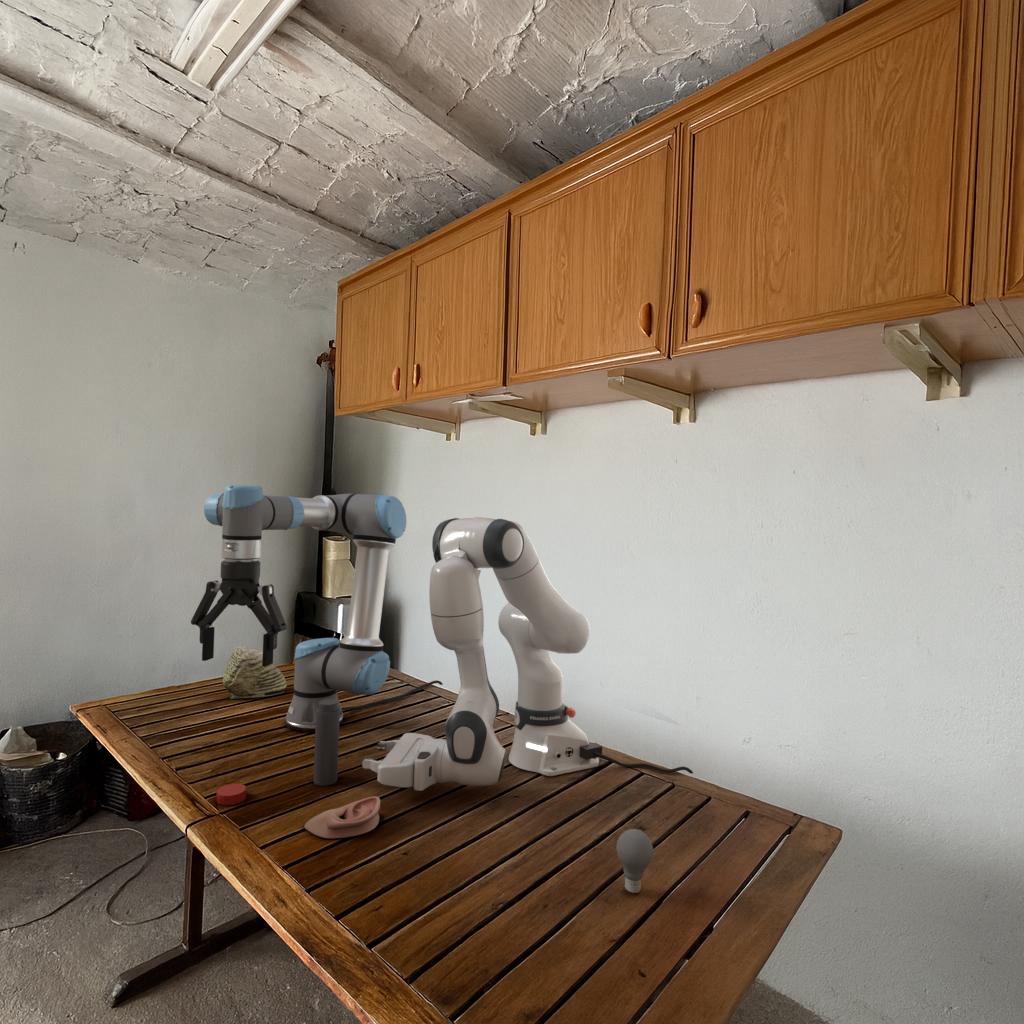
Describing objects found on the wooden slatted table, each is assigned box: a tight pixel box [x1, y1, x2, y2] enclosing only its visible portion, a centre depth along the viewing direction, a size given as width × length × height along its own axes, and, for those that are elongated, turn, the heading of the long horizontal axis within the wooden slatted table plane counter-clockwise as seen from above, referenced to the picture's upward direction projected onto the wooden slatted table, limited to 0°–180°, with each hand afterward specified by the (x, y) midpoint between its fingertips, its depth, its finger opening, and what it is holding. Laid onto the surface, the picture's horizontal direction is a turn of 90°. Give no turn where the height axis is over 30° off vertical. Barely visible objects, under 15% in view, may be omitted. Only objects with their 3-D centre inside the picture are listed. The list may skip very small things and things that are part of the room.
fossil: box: [222, 646, 288, 699], centre depth 198 cm, size 9×18×15 cm, turn 132°
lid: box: [215, 783, 247, 806], centre depth 131 cm, size 6×6×2 cm
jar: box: [312, 699, 340, 787], centre depth 141 cm, size 5×5×18 cm
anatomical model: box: [304, 796, 381, 839], centre depth 123 cm, size 13×4×12 cm
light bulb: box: [615, 828, 654, 894], centre depth 106 cm, size 6×6×10 cm
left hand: (237, 662), depth 131 cm, fingers open, 13 cm apart
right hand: (371, 754), depth 140 cm, fingers open, 8 cm apart
